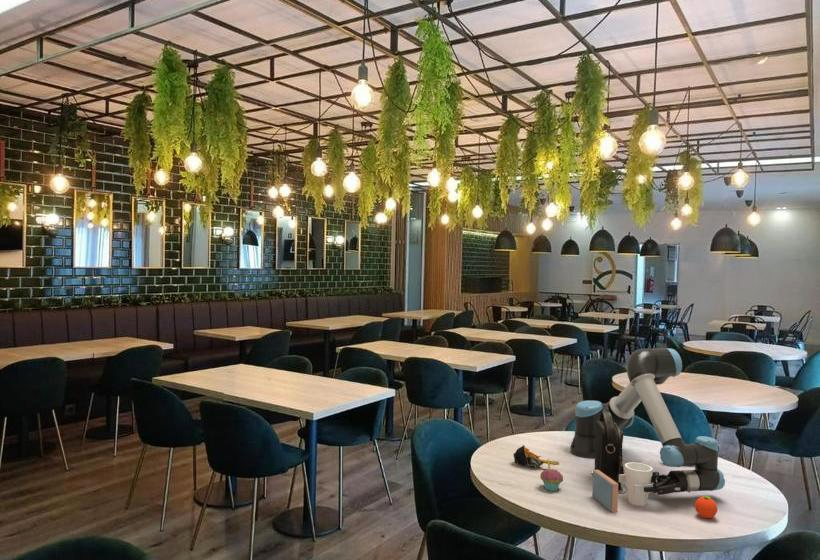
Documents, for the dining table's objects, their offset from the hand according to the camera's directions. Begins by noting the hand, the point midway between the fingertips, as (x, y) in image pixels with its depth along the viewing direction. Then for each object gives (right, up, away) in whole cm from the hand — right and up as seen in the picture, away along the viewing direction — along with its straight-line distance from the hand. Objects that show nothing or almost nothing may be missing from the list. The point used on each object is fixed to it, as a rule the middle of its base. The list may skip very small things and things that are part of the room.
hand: (626, 483), depth 207 cm
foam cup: (+4, -7, +1) cm, 8 cm away
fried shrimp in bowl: (-26, -6, +35) cm, 44 cm away
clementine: (+24, -8, -10) cm, 27 cm away
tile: (-9, -7, -1) cm, 11 cm away
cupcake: (-24, -6, +12) cm, 28 cm away
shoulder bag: (0, -7, +20) cm, 22 cm away
